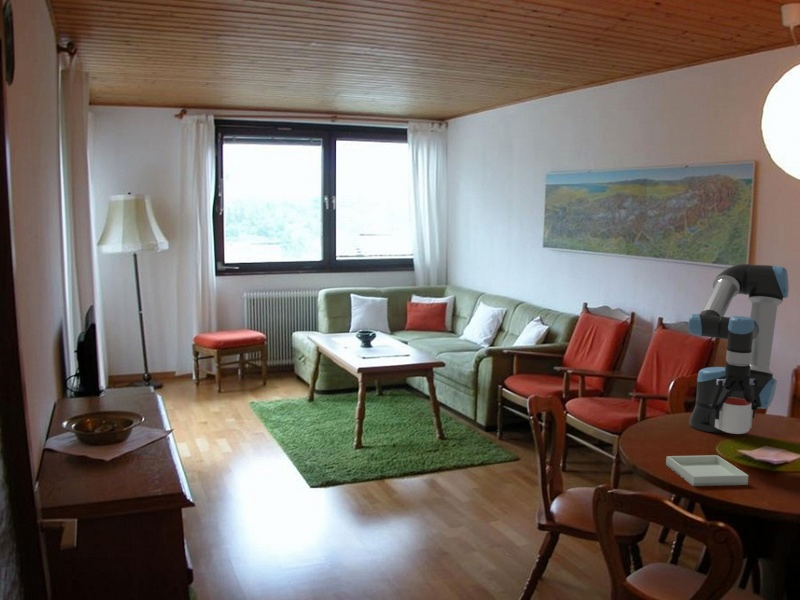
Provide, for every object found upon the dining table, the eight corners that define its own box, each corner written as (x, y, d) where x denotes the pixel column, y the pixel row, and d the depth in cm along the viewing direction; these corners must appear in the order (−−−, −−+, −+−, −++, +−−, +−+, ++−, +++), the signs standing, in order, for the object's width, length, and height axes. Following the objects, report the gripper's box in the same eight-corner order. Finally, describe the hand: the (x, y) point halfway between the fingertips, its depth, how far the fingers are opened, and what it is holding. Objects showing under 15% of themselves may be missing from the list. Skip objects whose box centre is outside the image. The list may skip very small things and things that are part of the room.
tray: (716, 463, 236) (717, 455, 236) (747, 484, 219) (748, 475, 218) (665, 465, 234) (666, 456, 234) (693, 486, 217) (693, 476, 216)
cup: (747, 437, 233) (749, 407, 232) (714, 431, 238) (716, 402, 237) (750, 428, 241) (753, 400, 240) (719, 423, 247) (721, 395, 245)
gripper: (763, 360, 241) (757, 423, 245) (699, 361, 239) (695, 425, 242) (777, 365, 234) (771, 430, 237) (711, 366, 232) (706, 432, 235)
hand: (732, 427), depth 240 cm, fingers closed on cup, 10 cm apart
